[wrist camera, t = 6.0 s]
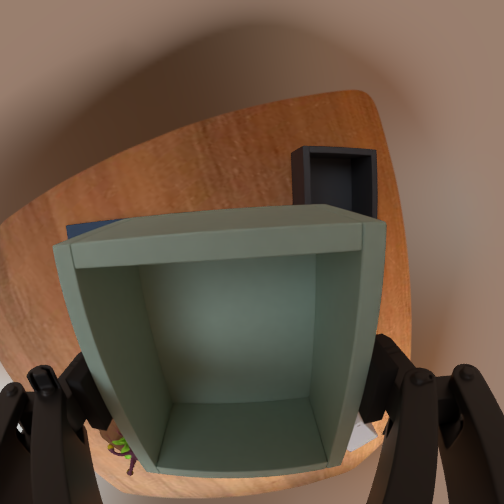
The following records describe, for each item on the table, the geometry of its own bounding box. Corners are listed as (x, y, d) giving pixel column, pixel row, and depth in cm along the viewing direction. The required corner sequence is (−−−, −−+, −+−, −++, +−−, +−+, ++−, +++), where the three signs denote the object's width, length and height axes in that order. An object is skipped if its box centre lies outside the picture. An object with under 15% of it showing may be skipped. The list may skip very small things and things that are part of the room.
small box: (315, 395, 43) (329, 438, 32) (342, 378, 42) (361, 420, 32) (335, 413, 44) (350, 453, 34) (359, 398, 44) (378, 436, 33)
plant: (97, 433, 45) (82, 466, 35) (102, 387, 41) (80, 426, 30) (174, 464, 48) (168, 500, 37) (198, 427, 44) (192, 471, 33)
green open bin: (123, 218, 13) (51, 245, 7) (326, 203, 13) (388, 221, 7) (166, 401, 15) (146, 471, 10) (317, 394, 16) (341, 465, 10)
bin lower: (290, 152, 33) (302, 145, 26) (352, 154, 33) (376, 149, 26) (293, 245, 36) (305, 260, 29) (353, 242, 36) (375, 255, 29)
